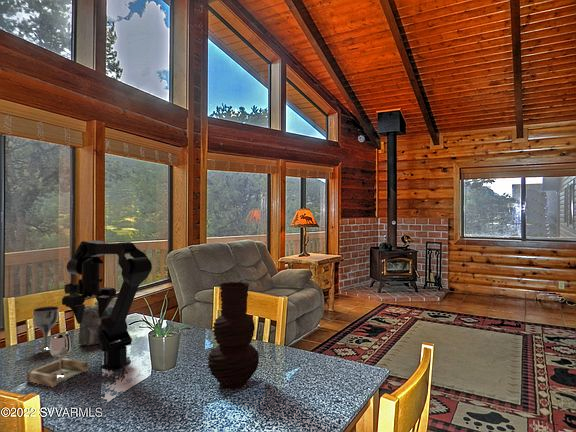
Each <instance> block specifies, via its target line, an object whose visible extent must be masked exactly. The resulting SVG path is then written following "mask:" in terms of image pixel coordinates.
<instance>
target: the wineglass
mask: <svg viewBox="0 0 576 432" xmlns="http://www.w3.org/2000/svg"><path fill="white" fill-rule="evenodd" d="M49 346H50V351H49V353H50V355H51V356H53V357H57V358H58V359H57V360H58V361H59V372H57V373H54V374H53V375H57V378H59V377H63V376H66V375H68V372H64V371H63V372H62V371H61V362H62V357H64V356H66V355H68V354H69V353H70V352H71V348H72V340H71V336H70V334H68V333H58V334H54V335H52V336H51V339H50V342H49Z"/></svg>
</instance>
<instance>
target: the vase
mask: <svg viewBox="0 0 576 432" xmlns="http://www.w3.org/2000/svg"><path fill="white" fill-rule="evenodd" d="M218 286H219V287H220V288H219V289H220V291H219V295H220V302H221V303H220V309H221V311H220V313H221V315H219V316H218V318H216V319H214V321H215V322H214V323H213V326H212V329H213V330H212V333H213V334H212V335H213V337H214V340H215V343H216V344H218V345H216V346H215V347H214V348H211V349H210V352H209V353H208V357H207V360H208V361H207V364H208V365H207V367H208V368H209V371H210V372H211V373H210V374H211V375H212V376H213V377H214V379H216V382H218V383H219V386H220V387H221V388H222V389H224V390H231V391H234V390H238V389H242V388H244V387H245V386H246V385H247V384H248V381H249V380H250V379H251V378H252V377H253V375H254V374H255V372H256V371H257V369H258V366H259V363H260V359H259V358H260V355H259V351H258V350H257V349H256V348H255V346H253V345H252V344H250V343H252V339H253V338H254V332H255V329H256V326H255V323H254V319H253V318H252V317H251V316H250V315H248V313H247V311H248V297H249V293H248V291H249V287H250V285H249V282H243V281H229V282H222V283H220V284H218Z"/></svg>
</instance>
